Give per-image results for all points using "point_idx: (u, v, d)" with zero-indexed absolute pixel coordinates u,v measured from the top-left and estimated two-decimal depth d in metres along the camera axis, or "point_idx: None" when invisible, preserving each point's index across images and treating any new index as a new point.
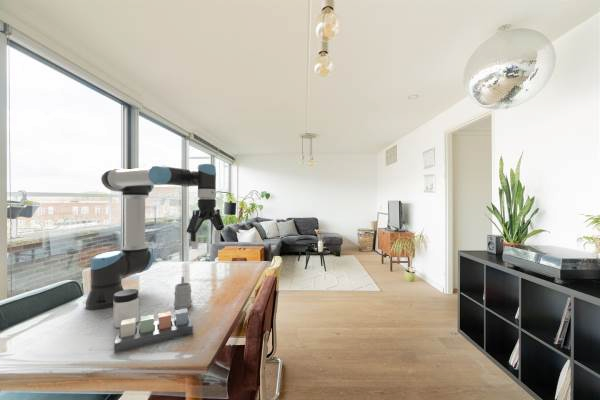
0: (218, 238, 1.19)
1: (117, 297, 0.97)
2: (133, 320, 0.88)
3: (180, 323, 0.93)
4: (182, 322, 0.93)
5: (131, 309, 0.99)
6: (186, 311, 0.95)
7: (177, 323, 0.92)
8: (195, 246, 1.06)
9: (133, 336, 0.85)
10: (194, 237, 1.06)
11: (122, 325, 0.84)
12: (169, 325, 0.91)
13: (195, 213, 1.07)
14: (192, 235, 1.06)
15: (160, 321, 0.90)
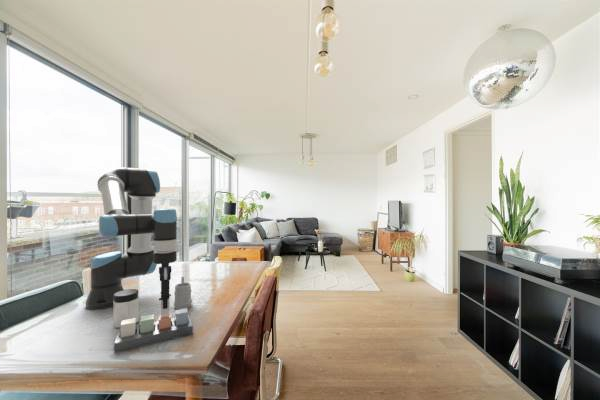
0: None
1: (117, 297, 0.97)
2: (133, 320, 0.88)
3: (180, 323, 0.93)
4: (182, 322, 0.93)
5: (131, 309, 0.99)
6: (186, 311, 0.95)
7: (177, 323, 0.92)
8: None
9: (133, 336, 0.85)
10: None
11: (122, 325, 0.84)
12: None
13: None
14: None
15: (160, 324, 0.90)
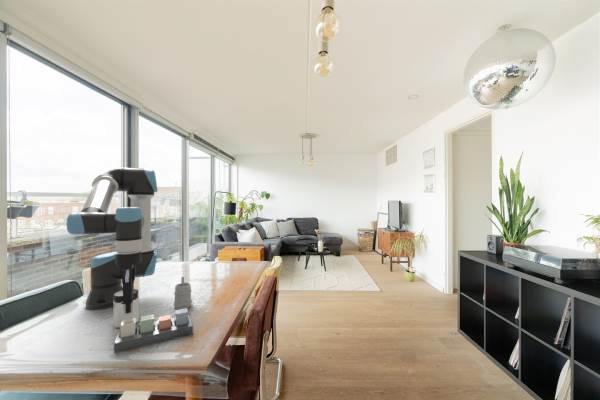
0: None
1: (117, 297, 0.97)
2: (133, 320, 0.88)
3: (180, 323, 0.93)
4: (182, 322, 0.93)
5: None
6: (186, 311, 0.95)
7: (177, 323, 0.92)
8: None
9: (133, 336, 0.85)
10: None
11: (122, 325, 0.84)
12: None
13: None
14: None
15: (160, 325, 0.90)
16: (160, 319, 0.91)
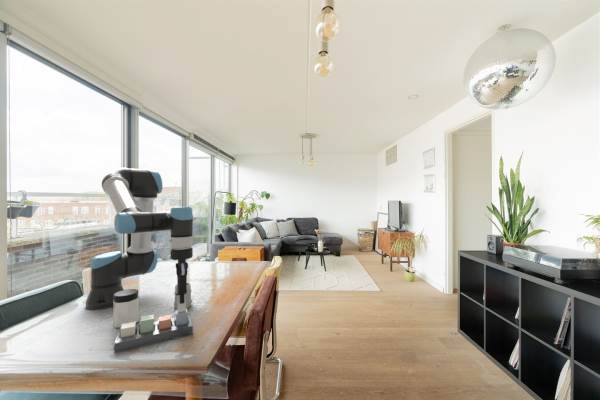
0: None
1: (117, 297, 0.97)
2: (133, 324, 0.88)
3: (180, 323, 0.93)
4: (182, 322, 0.93)
5: (131, 309, 0.99)
6: (186, 311, 0.95)
7: (177, 323, 0.92)
8: None
9: (133, 336, 0.85)
10: None
11: (122, 329, 0.84)
12: None
13: None
14: None
15: (160, 325, 0.90)
16: (160, 319, 0.91)
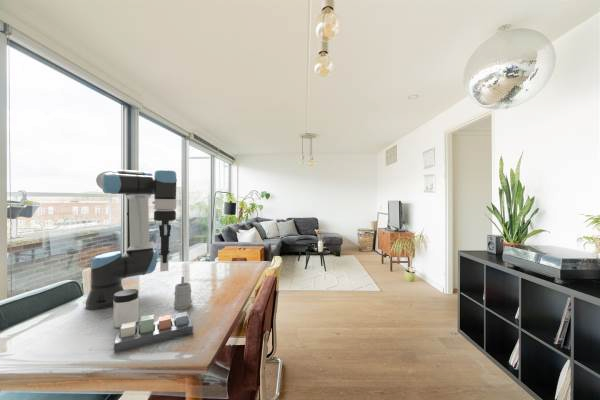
0: None
1: (117, 297, 0.97)
2: (133, 324, 0.88)
3: None
4: None
5: (131, 309, 0.99)
6: (186, 315, 0.95)
7: None
8: None
9: (133, 336, 0.85)
10: None
11: (122, 329, 0.84)
12: None
13: None
14: None
15: (160, 325, 0.90)
16: (160, 319, 0.91)
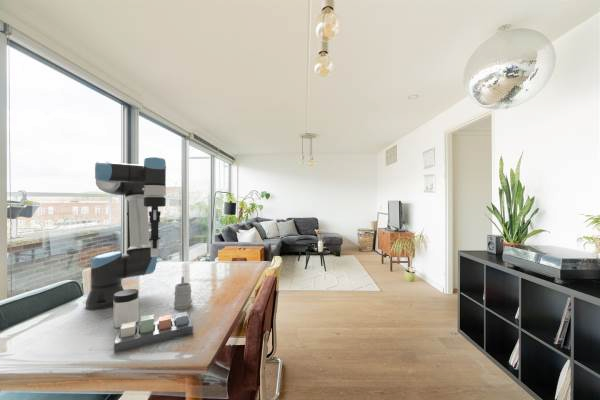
0: None
1: (117, 297, 0.97)
2: (133, 324, 0.88)
3: None
4: None
5: (131, 309, 0.99)
6: (186, 315, 0.95)
7: None
8: None
9: (133, 336, 0.85)
10: None
11: (122, 329, 0.84)
12: None
13: None
14: None
15: (160, 325, 0.90)
16: (160, 319, 0.91)
